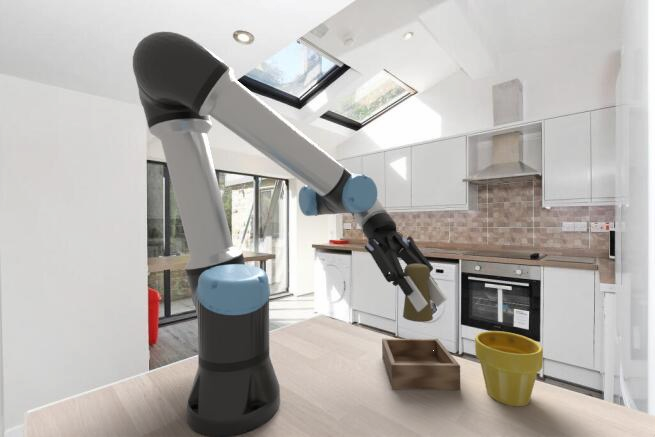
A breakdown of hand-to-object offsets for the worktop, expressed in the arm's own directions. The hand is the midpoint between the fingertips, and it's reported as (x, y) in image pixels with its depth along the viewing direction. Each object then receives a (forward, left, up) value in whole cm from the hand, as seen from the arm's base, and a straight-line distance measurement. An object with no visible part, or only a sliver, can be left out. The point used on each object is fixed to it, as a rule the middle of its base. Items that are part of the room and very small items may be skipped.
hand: (432, 305), depth 60 cm
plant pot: (+12, -5, -15) cm, 20 cm away
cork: (-2, +3, -3) cm, 5 cm away
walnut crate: (-2, +3, -15) cm, 15 cm away
